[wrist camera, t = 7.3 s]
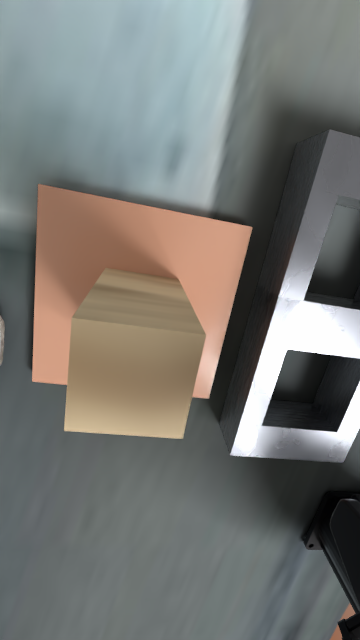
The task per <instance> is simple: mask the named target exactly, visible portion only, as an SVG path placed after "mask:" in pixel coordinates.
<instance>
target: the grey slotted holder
mask: <svg viewBox="0 0 360 640" xmlns="http://www.w3.org/2000/svg"><path fill="white" fill-rule="evenodd" d="M336 204H337V205H341V206H346V207H350V208H354V209H359V210H360V137H356V136H353V135H349V134H345V133H342V132H338V131H334V130H331V129H329V130H327V131H325V132H322V133H320V134H318V135H315V136H313V137H311V138H309V139H306V140H304V141H302V142H299V143H297V144H296V148H295V152H294V155H293V159H292V162H291V166H290V170H289V173H288V177H287V180H286V184H285V188H284V191H283V195H282V198H281V202H280V206H279V209H278V213H277V216H276V220H275V224H274V227H273V231H272V234H271V238H270V242H269V245H268V249H267V252H266V256H265V260H264V263H263V267H262V270H261V274H260V278H259V281H258V285H257V288H256V292H255V296H254V299H253V303H252V306H251V310H250V314H249V317H248V321H247V324H246V328H245V332H244V335H243V339H242V342H241V346H240V350H239V353H238V357H237V360H236V364H235V368H234V371H233V375H232V378H231V382H230V386H229V389H228V393H227V396H226V400H225V404H224V407H223V411H222V414H221V418H220V422H219V425H220V428H221V431H222V433H223V436H224V439H225V442H226V445H227V448H228V451H229V453H230V455H232V456H247V457H263V458H278V459H294V460H309V461H324V462H340V463H343V462H344V460H345V458H346V456H347V454H348V452H349V449H350V447H351V445H352V443H353V441H354V439H355V436H356V434H357V432H358V430H359V428H360V284H359V286H358V289H357V292H356V294H355V297H354V299H353V300H352V299H346V298H341V297H335V296H329V295H323V294H317V293H311V292H306V291H307V288H308V285H309V282H310V279H311V276H312V273H313V270H314V267H315V264H316V261H317V258H318V255H319V252H320V249H321V247H322V244H323V241H324V238H325V235H326V232H327V229H328V226H329V223H330V220H331V217H332V214H333V211H334V208H335V205H336ZM287 349H290V350H298V351H305V352H313V353H320V354H328V355H332V356H331V358H330V361H329V363H328V366H327V368H326V371H325V373H324V376H323V379H322V381H321V384H320V386H319V389H318V391H317V394H316V396H315V399H314V402H313V404H310V403H300V402H291V401H281V400H271V396H272V393H273V390H274V387H275V384H276V381H277V378H278V375H279V372H280V369H281V366H282V363H283V360H284V357H285V354H286V351H287Z"/></svg>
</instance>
